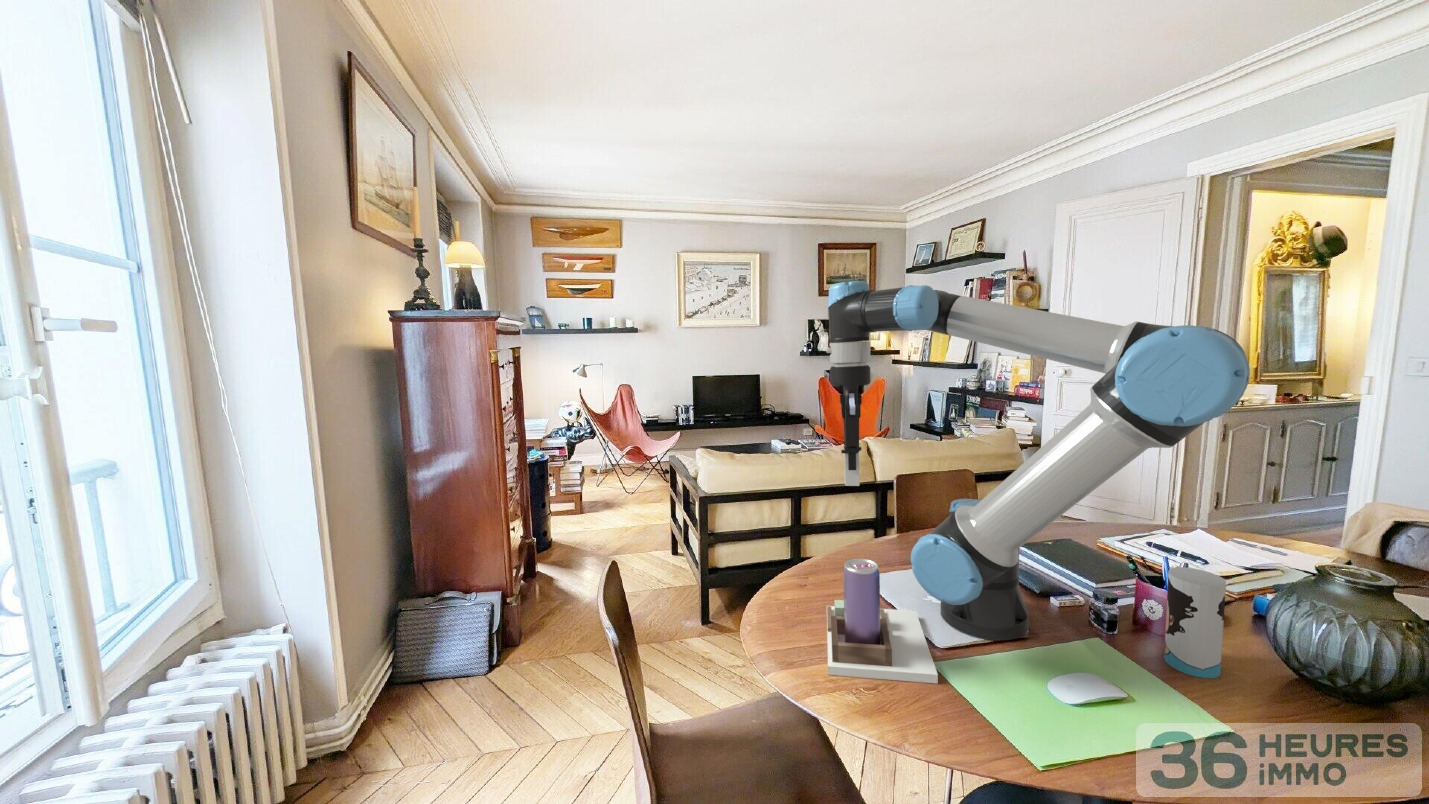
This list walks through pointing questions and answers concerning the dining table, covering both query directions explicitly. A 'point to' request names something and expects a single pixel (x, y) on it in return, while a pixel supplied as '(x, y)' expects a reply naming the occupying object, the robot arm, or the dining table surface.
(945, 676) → the dining table surface
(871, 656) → the socket
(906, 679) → the board
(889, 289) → the robot arm
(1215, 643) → the cup
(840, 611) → the block
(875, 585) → the beverage can
